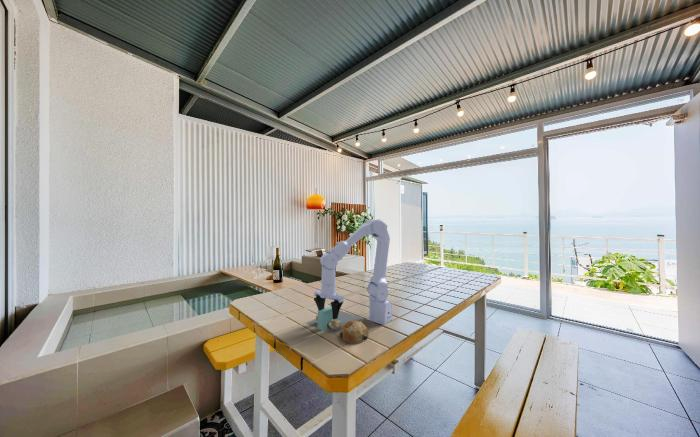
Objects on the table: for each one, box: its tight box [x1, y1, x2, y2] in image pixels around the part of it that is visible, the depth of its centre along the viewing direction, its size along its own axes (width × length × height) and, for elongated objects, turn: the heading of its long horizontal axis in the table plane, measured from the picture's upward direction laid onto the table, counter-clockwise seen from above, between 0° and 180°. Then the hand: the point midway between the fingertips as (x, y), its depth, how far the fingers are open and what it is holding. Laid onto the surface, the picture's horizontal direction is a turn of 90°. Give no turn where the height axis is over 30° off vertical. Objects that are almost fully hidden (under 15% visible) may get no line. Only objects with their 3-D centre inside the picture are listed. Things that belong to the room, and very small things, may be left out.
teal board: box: [317, 305, 339, 331], centre depth 100 cm, size 2×10×7 cm, turn 143°
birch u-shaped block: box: [315, 314, 341, 330], centre depth 100 cm, size 12×2×3 cm, turn 53°
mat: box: [305, 310, 364, 335], centre depth 105 cm, size 16×20×1 cm
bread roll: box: [339, 321, 370, 344], centre depth 90 cm, size 10×10×8 cm
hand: (328, 316), depth 100 cm, fingers open, 7 cm apart
